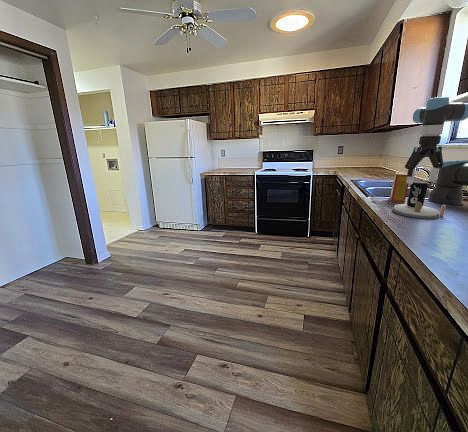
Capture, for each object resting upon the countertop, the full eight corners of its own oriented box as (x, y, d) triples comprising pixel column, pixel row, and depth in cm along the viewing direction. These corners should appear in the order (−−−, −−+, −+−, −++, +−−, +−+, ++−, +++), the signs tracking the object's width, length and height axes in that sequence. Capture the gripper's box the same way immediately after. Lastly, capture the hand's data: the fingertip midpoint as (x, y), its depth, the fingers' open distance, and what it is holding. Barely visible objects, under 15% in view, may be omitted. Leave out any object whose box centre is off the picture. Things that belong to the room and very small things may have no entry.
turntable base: (391, 206, 127) (393, 196, 126) (438, 212, 118) (441, 201, 116) (392, 215, 112) (395, 203, 111) (447, 222, 103) (450, 209, 102)
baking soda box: (404, 203, 135) (410, 174, 130) (390, 201, 138) (396, 173, 133) (402, 199, 143) (408, 172, 138) (389, 198, 146) (395, 171, 141)
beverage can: (425, 208, 115) (431, 183, 111) (409, 207, 116) (415, 182, 113) (418, 204, 121) (424, 180, 118) (403, 204, 122) (408, 180, 119)
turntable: (393, 205, 126) (395, 194, 125) (434, 209, 118) (436, 198, 117) (394, 213, 112) (396, 201, 111) (441, 218, 104) (444, 206, 103)
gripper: (442, 135, 115) (432, 179, 122) (400, 136, 109) (392, 183, 116) (460, 134, 109) (448, 182, 115) (416, 135, 102) (407, 185, 109)
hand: (420, 182), depth 115 cm, fingers open, 13 cm apart
